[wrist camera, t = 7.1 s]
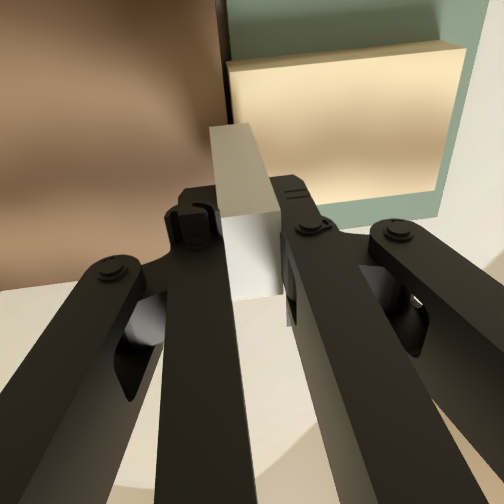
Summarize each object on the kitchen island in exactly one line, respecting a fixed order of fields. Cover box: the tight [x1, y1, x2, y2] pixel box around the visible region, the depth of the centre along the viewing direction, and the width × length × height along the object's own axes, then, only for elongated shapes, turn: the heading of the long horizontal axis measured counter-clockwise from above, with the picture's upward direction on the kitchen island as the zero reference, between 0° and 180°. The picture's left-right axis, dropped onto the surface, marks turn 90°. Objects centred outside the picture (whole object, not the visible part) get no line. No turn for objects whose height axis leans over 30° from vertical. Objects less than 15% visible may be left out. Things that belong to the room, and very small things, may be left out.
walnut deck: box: [0, 0, 228, 291], centre depth 17 cm, size 12×14×2 cm
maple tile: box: [226, 40, 467, 205], centre depth 17 cm, size 6×9×2 cm, turn 94°
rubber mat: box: [226, 0, 489, 229], centre depth 18 cm, size 12×10×1 cm
